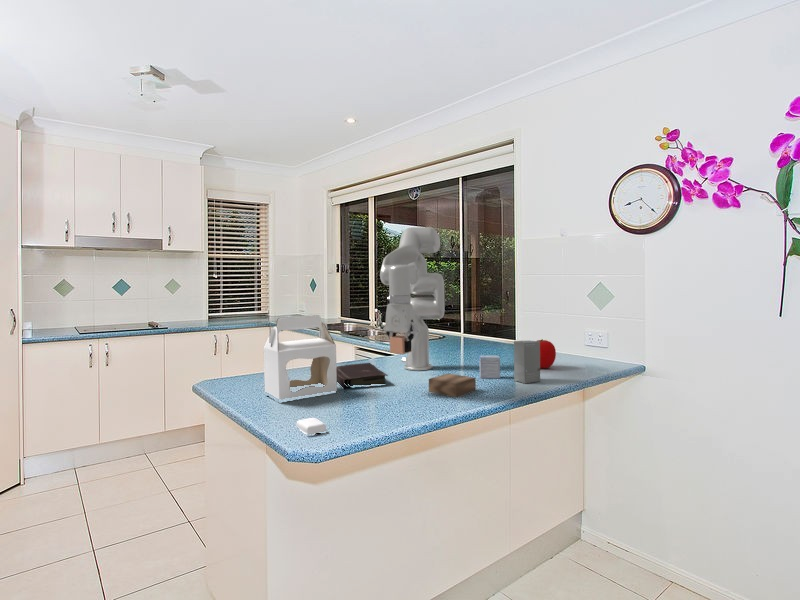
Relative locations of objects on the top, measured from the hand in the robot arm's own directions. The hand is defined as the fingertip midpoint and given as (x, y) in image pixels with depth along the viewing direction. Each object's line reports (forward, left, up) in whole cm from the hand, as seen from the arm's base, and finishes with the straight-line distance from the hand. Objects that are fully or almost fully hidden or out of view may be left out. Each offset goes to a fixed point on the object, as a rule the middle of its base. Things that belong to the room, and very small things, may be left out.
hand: (400, 350), depth 172 cm
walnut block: (+14, +12, -15) cm, 24 cm away
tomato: (+26, +70, -15) cm, 76 cm away
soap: (+5, -48, -16) cm, 50 cm away
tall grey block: (+30, +42, -15) cm, 54 cm away
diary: (-26, +6, -16) cm, 31 cm away
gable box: (-28, -22, -15) cm, 39 cm away
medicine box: (+15, +40, -15) cm, 45 cm away
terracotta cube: (0, 0, -1) cm, 1 cm away
